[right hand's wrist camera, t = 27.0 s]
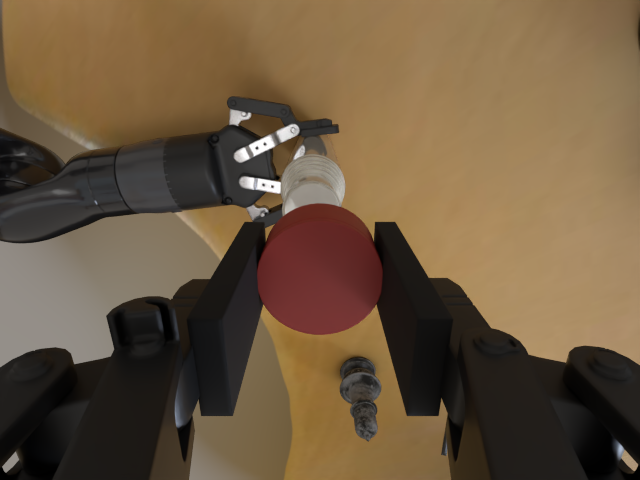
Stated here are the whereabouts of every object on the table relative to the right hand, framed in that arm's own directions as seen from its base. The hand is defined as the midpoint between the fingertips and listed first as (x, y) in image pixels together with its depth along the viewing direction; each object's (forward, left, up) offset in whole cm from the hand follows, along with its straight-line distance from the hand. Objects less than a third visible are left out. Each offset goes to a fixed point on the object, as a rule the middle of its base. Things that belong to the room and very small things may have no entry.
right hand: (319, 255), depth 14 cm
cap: (0, 0, +2) cm, 2 cm away
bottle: (0, 0, -32) cm, 32 cm away
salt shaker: (+25, +23, -32) cm, 46 cm away
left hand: (-1, +2, -25) cm, 25 cm away
